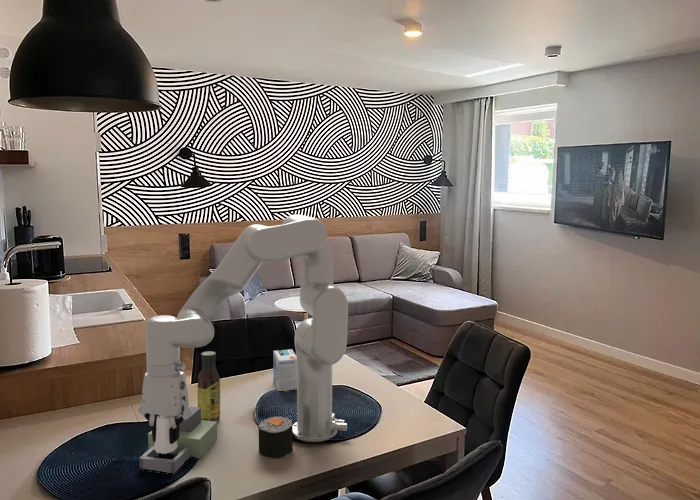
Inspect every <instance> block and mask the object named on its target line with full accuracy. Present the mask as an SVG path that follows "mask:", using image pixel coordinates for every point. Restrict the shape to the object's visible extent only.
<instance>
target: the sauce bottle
mask: <svg viewBox="0 0 700 500" xmlns="http://www.w3.org/2000/svg"><path fill="white" fill-rule="evenodd" d="M200 357H201V371H200V372H199V373H198V375H197V407H201V420H205V421H215V422H217V423H218V422H219V421H220V418H221V416H220V415H221V378H220V376H219V374H218V370H217V367H216V358H217V354H216V352H215V351H211V350H210V351H203V352H201V353H200Z"/></svg>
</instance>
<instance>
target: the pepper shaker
mask: <svg viewBox="0 0 700 500" xmlns="http://www.w3.org/2000/svg"><path fill="white" fill-rule="evenodd" d="M170 428H171V422H170V417H169V416H164V415H158V416H157V420H156V441H155V446H154V450H155V451H156V452H157V453H161V455H167V453H170V452H174V450H175V449H176V448H177V447H178V445H177V441H175V442H174V443H173V444H170V441H169V429H170Z"/></svg>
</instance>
